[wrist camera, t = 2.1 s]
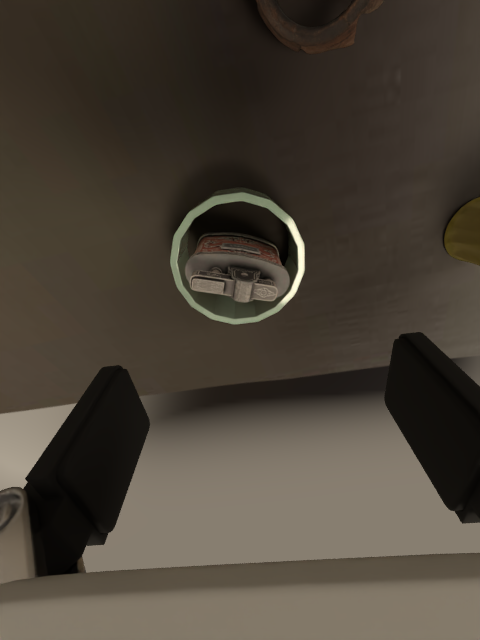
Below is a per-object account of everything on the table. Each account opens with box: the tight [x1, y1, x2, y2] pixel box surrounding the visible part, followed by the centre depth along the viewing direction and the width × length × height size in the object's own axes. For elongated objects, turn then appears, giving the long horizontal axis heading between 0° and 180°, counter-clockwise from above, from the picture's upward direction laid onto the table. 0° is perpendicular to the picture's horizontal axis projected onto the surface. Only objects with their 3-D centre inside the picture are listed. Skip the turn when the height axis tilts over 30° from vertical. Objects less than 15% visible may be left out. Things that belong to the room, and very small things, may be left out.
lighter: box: [185, 232, 290, 303], centre depth 23 cm, size 8×3×10 cm, turn 81°
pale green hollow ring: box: [170, 187, 305, 324], centre depth 25 cm, size 11×11×5 cm
